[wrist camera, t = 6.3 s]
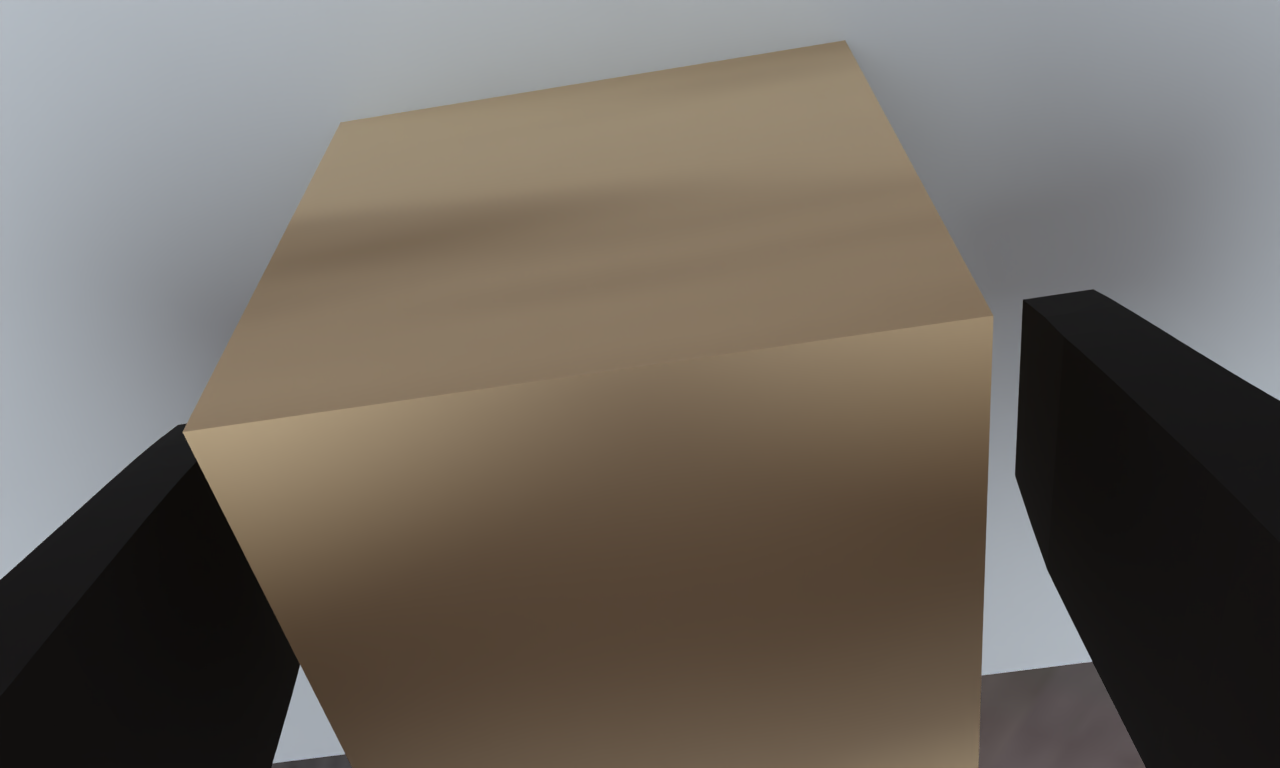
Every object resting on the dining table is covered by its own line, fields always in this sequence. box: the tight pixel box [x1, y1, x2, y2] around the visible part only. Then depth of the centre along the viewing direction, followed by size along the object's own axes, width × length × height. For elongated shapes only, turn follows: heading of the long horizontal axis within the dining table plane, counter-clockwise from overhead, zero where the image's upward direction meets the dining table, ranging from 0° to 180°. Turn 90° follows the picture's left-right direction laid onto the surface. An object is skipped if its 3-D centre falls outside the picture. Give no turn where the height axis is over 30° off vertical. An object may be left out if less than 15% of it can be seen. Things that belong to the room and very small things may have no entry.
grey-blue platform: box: [0, 0, 1280, 763], centre depth 14 cm, size 14×18×3 cm
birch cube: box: [183, 40, 993, 768], centre depth 10 cm, size 5×5×5 cm
